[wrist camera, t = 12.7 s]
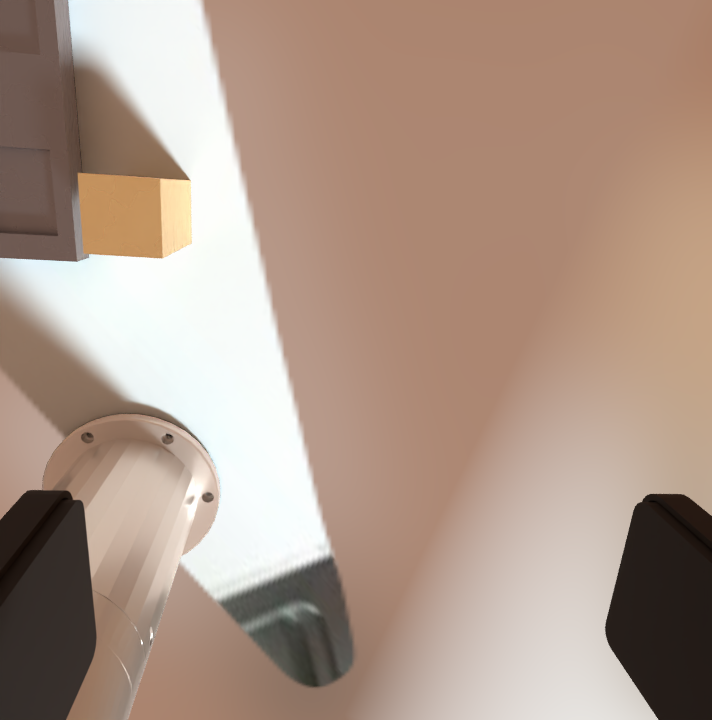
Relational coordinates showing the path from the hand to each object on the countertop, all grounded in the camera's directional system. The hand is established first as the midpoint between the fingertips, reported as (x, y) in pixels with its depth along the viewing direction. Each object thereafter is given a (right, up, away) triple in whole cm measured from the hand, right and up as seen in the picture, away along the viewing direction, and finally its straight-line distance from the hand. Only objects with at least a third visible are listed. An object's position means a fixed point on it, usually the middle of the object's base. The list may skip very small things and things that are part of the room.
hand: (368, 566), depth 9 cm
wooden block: (-13, +13, +26) cm, 32 cm away
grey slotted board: (-21, +19, +24) cm, 37 cm away
